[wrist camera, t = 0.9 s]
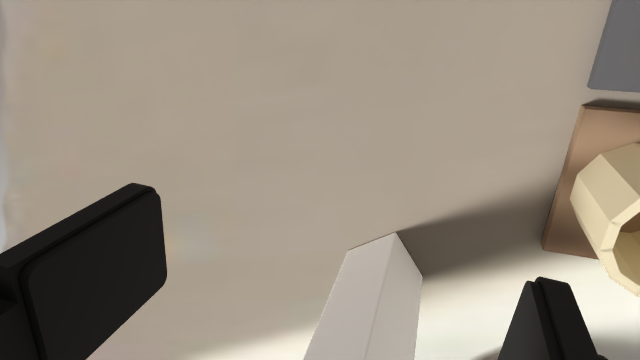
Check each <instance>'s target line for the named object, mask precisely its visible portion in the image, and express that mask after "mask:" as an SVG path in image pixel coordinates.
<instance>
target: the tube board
mask: <svg viewBox="0 0 640 360" xmlns="http://www.w3.org/2000/svg"><path fill="white" fill-rule="evenodd" d="M632 143H637V144H640V110H632V109H620V108H608V107H597V106H585V105H581V108H580V112H579V115H578V118H577V122H576V125H575V129H574V132H573V135H572V139H571V142H570V146H569V149H568V152H567V156H566V159H565V163H564V166H563V169H562V173H561V176H560V179H559V183H558V186H557V190H556V193H555V196H554V200H553V203H552V207H551V210H550V213H549V217H548V220H547V223H546V227H545V230H544V234H543V237H542V240H541V246H542V248H543V250H545V251H551V252H557V253H563V254H569V255H575V256H581V257H587V258H593V259H599V258H598V256H597V255H596V253H595V251H594V249H593V247H592V246H591V244H590V242H589V240H588V238H587V237H586V235H585V233H584V231H583V229H582V227H581V226H580V224H579V222H578V220H577V217H576V214H575V212H574V209H573V206H572V204H571V201H570V196H571V193H572V189H573V186H574V183H575V180H576V177H577V174H578V173H579V172H580V171H581V170H583V169H584V168H585V167H586V166H587V165H588V164H589V163H590V162H591V161H593V160H594V159H595V158H596V157H597V156H598V155H599V154H601V153H604V152H607V151H610V150H613V149H616V148H619V147H623V146H626V145H629V144H632ZM637 231H640V212H639V213H638V214H636V215H635V216H634V217H632V218H631V219H630V220H628V221H627V222H626V223H625V224H623V225H622V226H621V228H620V231H619V232H626V233H633V232H637Z"/></svg>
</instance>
